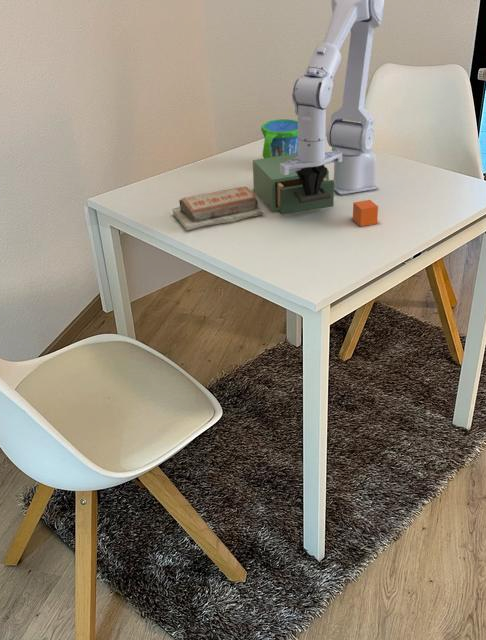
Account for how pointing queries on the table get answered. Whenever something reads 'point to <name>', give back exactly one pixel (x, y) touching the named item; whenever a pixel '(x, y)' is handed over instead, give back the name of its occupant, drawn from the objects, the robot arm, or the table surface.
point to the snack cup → (280, 138)
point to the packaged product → (217, 208)
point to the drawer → (302, 196)
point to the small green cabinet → (271, 178)
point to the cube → (365, 213)
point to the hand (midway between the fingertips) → (311, 199)
